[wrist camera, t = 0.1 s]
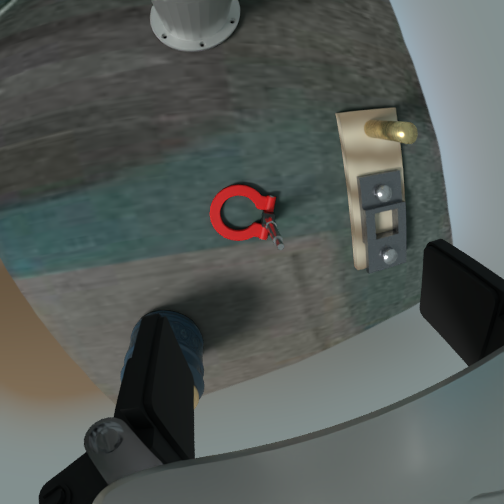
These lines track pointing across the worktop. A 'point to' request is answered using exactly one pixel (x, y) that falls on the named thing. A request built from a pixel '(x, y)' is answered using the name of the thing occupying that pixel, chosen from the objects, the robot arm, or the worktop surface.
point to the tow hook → (256, 228)
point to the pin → (391, 131)
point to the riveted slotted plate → (375, 201)
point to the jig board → (366, 168)
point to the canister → (188, 343)
